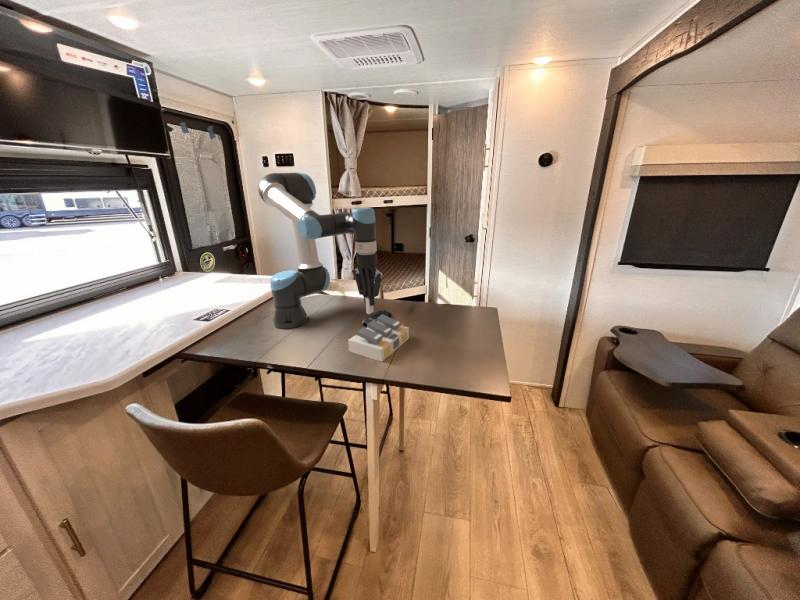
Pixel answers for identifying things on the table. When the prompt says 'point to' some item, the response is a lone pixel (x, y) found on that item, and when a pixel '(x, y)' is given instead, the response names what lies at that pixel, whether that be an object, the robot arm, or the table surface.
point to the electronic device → (376, 315)
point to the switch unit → (379, 344)
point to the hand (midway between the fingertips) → (370, 312)
